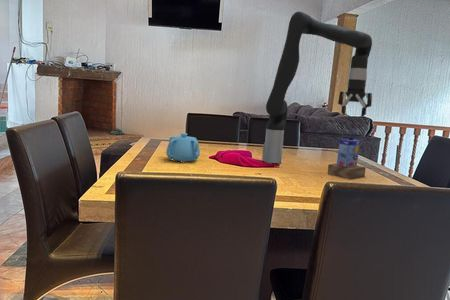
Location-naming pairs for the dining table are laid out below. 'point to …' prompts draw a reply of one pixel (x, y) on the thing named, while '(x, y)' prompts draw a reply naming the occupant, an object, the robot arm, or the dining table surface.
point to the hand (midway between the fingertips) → (353, 115)
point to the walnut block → (346, 171)
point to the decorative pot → (183, 148)
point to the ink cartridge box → (348, 152)
